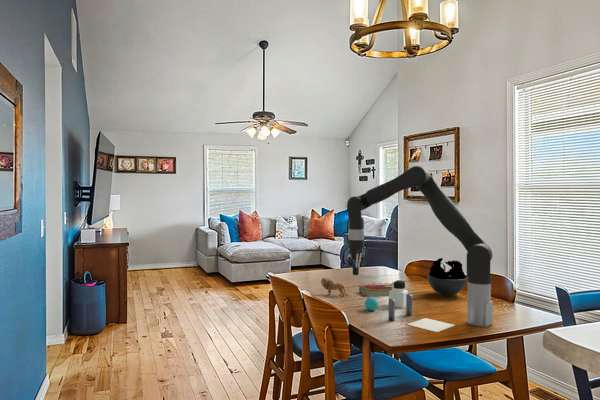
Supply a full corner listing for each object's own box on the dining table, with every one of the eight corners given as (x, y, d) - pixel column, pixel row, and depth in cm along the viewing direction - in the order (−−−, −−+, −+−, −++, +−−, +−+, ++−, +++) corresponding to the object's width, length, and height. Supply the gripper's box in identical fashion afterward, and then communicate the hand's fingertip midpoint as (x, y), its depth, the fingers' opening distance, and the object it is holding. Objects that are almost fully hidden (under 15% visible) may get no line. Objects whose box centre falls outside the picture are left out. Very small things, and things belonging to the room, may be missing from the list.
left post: (395, 320, 199) (396, 299, 199) (392, 321, 197) (392, 300, 197) (390, 319, 201) (391, 298, 200) (387, 320, 199) (387, 299, 199)
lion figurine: (319, 295, 245) (319, 278, 244) (322, 293, 250) (322, 276, 250) (347, 297, 240) (347, 280, 240) (349, 295, 245) (349, 278, 245)
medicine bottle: (407, 305, 226) (408, 280, 225) (403, 308, 219) (403, 282, 219) (393, 303, 229) (394, 278, 229) (388, 306, 223) (389, 281, 223)
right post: (413, 314, 208) (413, 294, 207) (409, 316, 206) (410, 295, 206) (408, 313, 210) (408, 293, 209) (404, 314, 208) (405, 294, 208)
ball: (380, 310, 215) (380, 297, 215) (372, 312, 211) (372, 299, 211) (370, 308, 219) (370, 295, 219) (362, 310, 215) (362, 297, 215)
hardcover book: (359, 292, 254) (359, 285, 254) (394, 290, 260) (394, 283, 260) (368, 297, 242) (368, 289, 242) (404, 295, 248) (404, 287, 248)
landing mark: (455, 325, 192) (455, 325, 192) (437, 332, 182) (437, 331, 182) (425, 318, 202) (425, 318, 202) (406, 324, 193) (406, 324, 193)
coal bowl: (469, 300, 236) (470, 263, 235) (428, 298, 240) (429, 261, 239) (463, 292, 255) (464, 257, 255) (426, 290, 259) (426, 256, 259)
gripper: (353, 240, 214) (352, 277, 214) (371, 238, 223) (370, 274, 223) (340, 238, 219) (340, 275, 220) (359, 237, 228) (358, 272, 229)
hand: (355, 275), depth 222 cm, fingers closed
